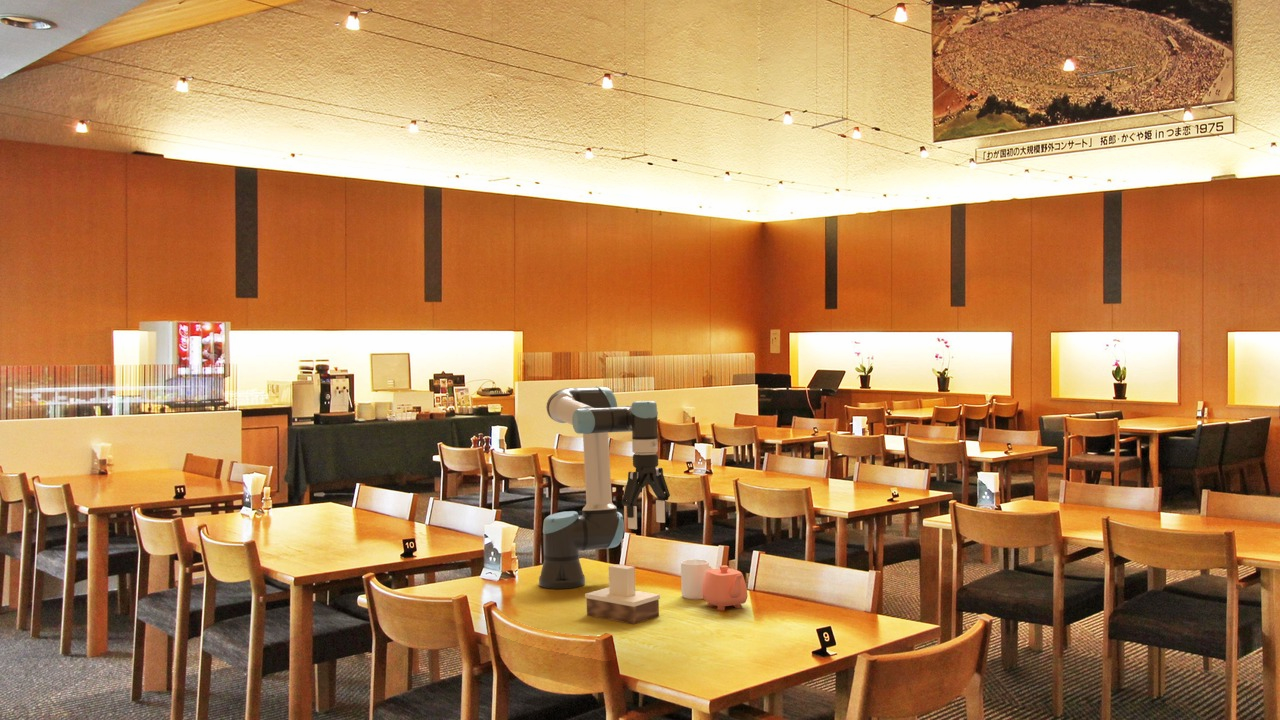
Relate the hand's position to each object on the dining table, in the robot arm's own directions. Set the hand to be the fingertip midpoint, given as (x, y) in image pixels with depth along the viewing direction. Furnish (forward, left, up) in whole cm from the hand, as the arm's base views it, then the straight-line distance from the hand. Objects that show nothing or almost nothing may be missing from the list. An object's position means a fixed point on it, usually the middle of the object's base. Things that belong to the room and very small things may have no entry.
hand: (646, 525), depth 314 cm
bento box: (-2, -10, -25) cm, 27 cm away
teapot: (+16, +16, -25) cm, 34 cm away
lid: (-2, -10, -21) cm, 24 cm away
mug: (+1, +23, -25) cm, 34 cm away
